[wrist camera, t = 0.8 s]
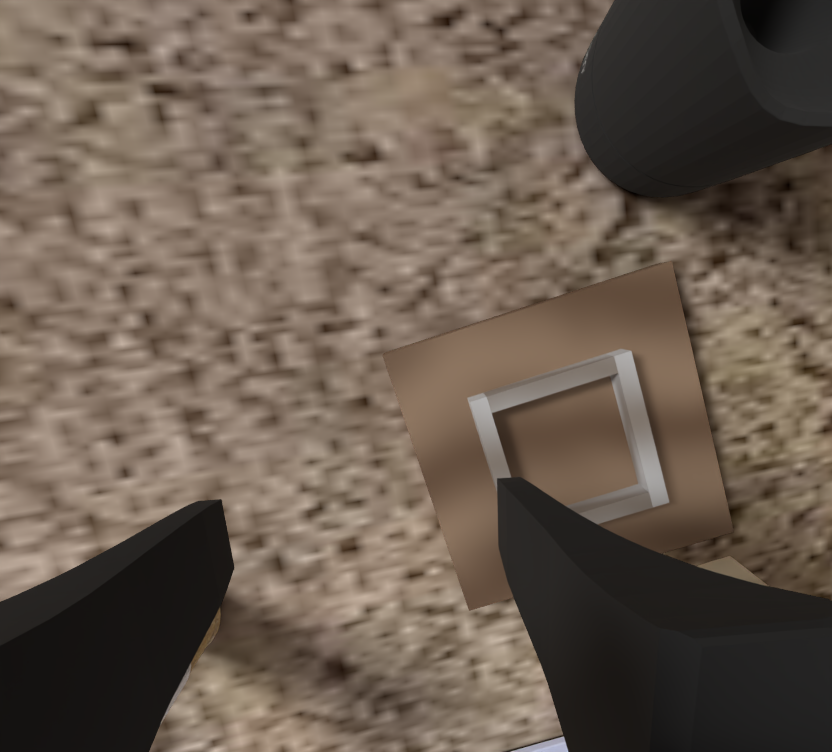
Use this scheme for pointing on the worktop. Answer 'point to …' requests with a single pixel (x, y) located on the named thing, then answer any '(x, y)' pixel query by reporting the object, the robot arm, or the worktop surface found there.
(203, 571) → the robot arm
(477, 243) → the worktop surface
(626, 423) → the walnut board
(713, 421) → the worktop surface
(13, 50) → the worktop surface
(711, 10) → the pen holder
